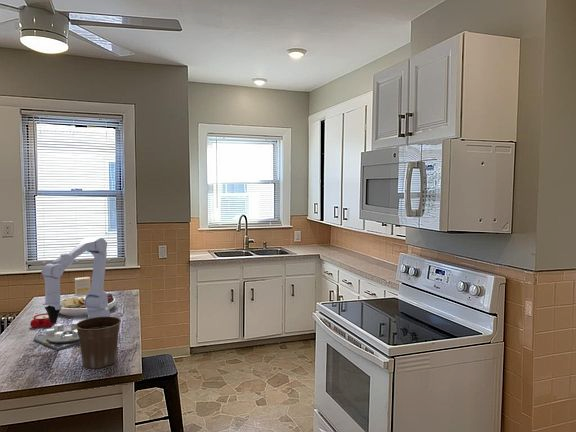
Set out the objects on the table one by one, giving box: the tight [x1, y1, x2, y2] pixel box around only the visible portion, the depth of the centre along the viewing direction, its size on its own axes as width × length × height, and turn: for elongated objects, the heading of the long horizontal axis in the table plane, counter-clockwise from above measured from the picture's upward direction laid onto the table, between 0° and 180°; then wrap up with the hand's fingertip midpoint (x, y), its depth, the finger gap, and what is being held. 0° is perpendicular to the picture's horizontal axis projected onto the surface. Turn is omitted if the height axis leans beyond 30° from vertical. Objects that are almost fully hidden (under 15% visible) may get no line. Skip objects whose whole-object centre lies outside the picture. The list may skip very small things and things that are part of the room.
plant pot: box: [76, 316, 122, 370], centre depth 171 cm, size 16×16×16 cm
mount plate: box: [33, 334, 80, 351], centre depth 197 cm, size 20×20×1 cm
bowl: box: [59, 292, 116, 317], centre depth 243 cm, size 30×30×8 cm
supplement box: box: [74, 276, 91, 297], centre depth 264 cm, size 8×5×13 cm, turn 120°
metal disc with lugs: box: [45, 321, 80, 343], centre depth 196 cm, size 17×17×4 cm
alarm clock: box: [30, 312, 56, 329], centre depth 216 cm, size 10×6×15 cm
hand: (53, 322), depth 190 cm, fingers closed
